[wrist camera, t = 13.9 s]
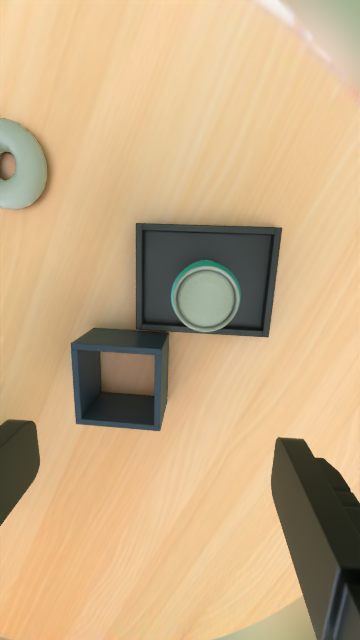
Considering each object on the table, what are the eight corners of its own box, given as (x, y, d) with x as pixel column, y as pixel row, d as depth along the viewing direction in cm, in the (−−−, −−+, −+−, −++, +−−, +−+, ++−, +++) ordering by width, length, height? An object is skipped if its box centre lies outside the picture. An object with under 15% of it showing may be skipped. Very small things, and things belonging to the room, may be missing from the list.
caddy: (96, 396, 41) (75, 424, 34) (93, 327, 38) (70, 343, 31) (167, 401, 40) (160, 431, 33) (169, 332, 37) (162, 349, 30)
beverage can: (204, 250, 34) (207, 245, 19) (234, 282, 34) (259, 301, 20) (173, 281, 35) (153, 298, 20) (202, 311, 36) (204, 350, 21)
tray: (139, 325, 37) (135, 329, 35) (139, 225, 34) (135, 223, 32) (265, 333, 36) (268, 337, 34) (277, 229, 33) (282, 227, 31)
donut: (-30, 188, 35) (36, 225, 35) (-55, 180, 32) (18, 222, 32) (-7, 110, 32) (64, 151, 33) (-31, 93, 29) (48, 139, 29)
